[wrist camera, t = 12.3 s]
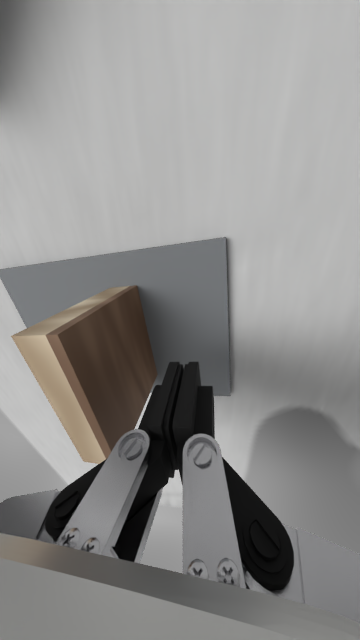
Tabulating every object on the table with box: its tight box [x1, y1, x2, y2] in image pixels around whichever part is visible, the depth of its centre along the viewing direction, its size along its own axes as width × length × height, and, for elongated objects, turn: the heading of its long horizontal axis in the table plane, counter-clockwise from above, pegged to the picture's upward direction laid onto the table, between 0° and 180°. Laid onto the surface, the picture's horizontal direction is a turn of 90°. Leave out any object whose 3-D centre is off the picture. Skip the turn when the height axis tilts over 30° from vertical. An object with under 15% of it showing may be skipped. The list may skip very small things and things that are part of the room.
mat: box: [0, 237, 230, 396], centre depth 17 cm, size 20×14×1 cm
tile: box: [11, 285, 158, 464], centre depth 13 cm, size 2×9×8 cm, turn 8°
